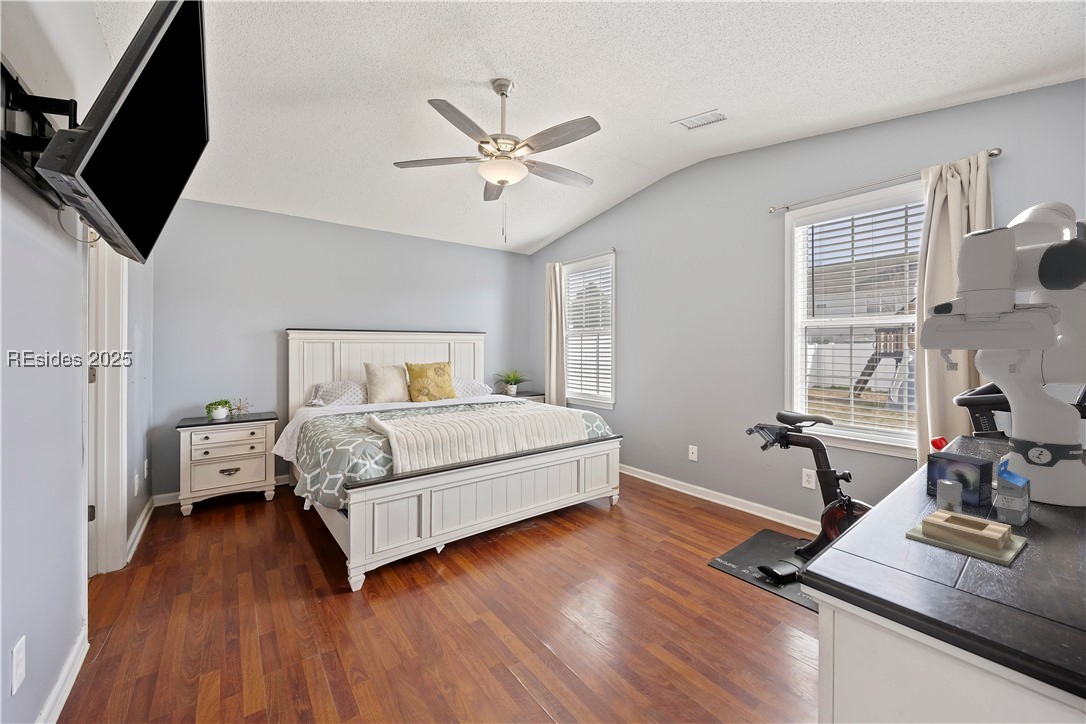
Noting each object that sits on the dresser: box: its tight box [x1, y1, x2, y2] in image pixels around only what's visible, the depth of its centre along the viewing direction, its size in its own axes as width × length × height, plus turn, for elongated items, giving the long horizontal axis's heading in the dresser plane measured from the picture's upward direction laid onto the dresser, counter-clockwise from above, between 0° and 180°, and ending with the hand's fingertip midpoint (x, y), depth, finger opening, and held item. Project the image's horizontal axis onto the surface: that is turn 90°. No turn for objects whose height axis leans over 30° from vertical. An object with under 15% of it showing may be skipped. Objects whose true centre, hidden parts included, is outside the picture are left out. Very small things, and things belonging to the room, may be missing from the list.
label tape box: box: [996, 459, 1031, 527], centre depth 95 cm, size 9×4×12 cm, turn 124°
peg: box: [936, 480, 963, 514], centre depth 96 cm, size 4×4×8 cm
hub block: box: [905, 509, 1028, 567], centre depth 85 cm, size 16×14×3 cm
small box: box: [925, 451, 994, 508], centre depth 108 cm, size 11×6×10 cm, turn 23°
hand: (982, 371), depth 93 cm, fingers open, 8 cm apart
